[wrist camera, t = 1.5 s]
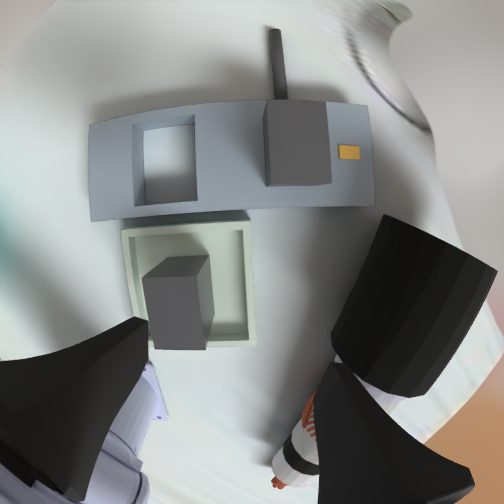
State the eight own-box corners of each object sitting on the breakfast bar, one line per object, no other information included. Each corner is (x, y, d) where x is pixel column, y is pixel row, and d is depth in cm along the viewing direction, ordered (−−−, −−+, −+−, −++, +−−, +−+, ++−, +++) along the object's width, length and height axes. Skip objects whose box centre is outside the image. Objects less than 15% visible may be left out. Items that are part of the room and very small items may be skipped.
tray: (146, 336, 24) (140, 346, 22) (129, 227, 22) (120, 230, 20) (255, 335, 24) (256, 346, 22) (250, 219, 22) (250, 220, 20)
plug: (174, 314, 23) (154, 349, 17) (167, 256, 22) (141, 277, 16) (214, 313, 23) (205, 350, 17) (209, 254, 22) (196, 275, 16)
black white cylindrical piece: (262, 443, 32) (227, 490, 23) (382, 214, 23) (384, 213, 14) (321, 472, 29) (297, 523, 20) (473, 258, 19) (518, 283, 10)
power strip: (105, 219, 21) (62, 228, 15) (109, 57, 18) (78, 27, 12) (361, 205, 22) (401, 209, 15) (343, 40, 19) (368, 4, 12)
